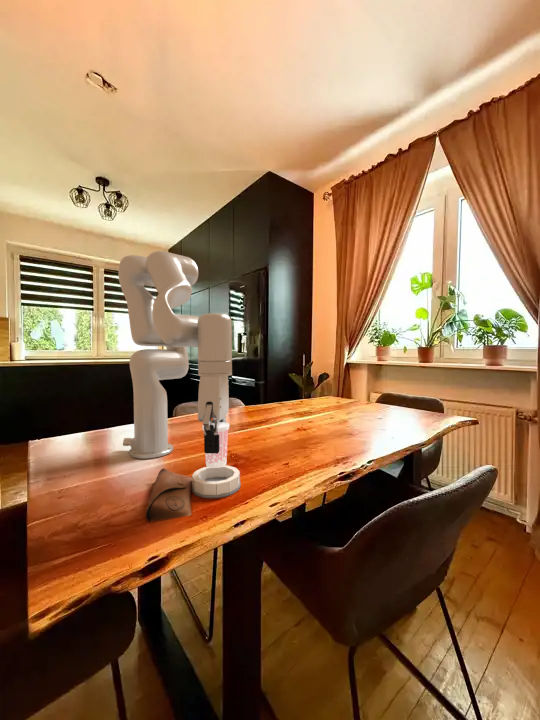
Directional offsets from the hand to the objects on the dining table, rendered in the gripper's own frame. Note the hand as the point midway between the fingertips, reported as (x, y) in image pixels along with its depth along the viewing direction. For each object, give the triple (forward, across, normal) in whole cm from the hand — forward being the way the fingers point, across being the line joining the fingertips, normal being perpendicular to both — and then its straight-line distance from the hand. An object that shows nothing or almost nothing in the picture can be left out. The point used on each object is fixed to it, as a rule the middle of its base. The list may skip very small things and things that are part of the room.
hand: (215, 447), depth 68 cm
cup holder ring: (+9, 0, 0) cm, 9 cm away
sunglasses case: (+10, +5, -8) cm, 14 cm away
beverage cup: (+4, 0, 0) cm, 4 cm away
